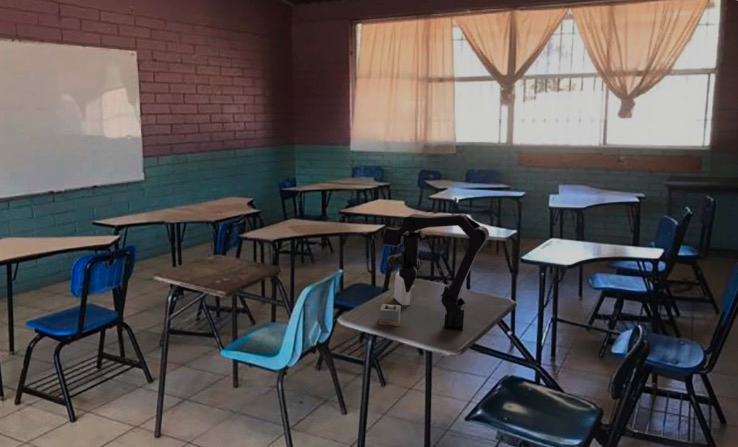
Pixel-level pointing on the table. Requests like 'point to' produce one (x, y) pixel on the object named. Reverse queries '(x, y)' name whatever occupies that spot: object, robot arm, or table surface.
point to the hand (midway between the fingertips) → (408, 288)
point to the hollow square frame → (390, 313)
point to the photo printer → (401, 291)
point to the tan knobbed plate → (389, 321)
